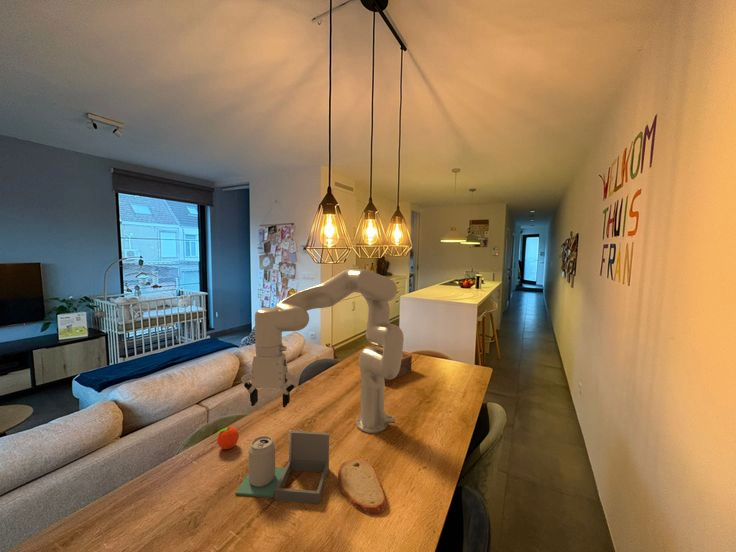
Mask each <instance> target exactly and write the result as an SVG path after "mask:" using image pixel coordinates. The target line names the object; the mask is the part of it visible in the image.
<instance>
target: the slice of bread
mask: <svg viewBox="0 0 736 552" xmlns="http://www.w3.org/2000/svg"><path fill="white" fill-rule="evenodd" d="M337 481H338V485H339V489H340V492H341V493H342V495H344V497H345V500H346V501H347V502H348V503H349V505H351V506H352V507H354V508H355V509H356V510H357V511H360V512H362V513H363V514H366V515H367V514H368V515H374V516H377V515H383V514H384V513H386V511H387V509H388V506H387V503H386V502H387V500H386V496H385V493H384V492H385V491H384V490H383V487H382V484H381V482H380V480H379V476H378V474H377V473H376V471H375V469H374V467H373V466H372V465H371V463H370V461H369V460H368V459H366V458H365V457H355V458H352V459H351V460H347V461H345V462H343V463H342V464H341V466H340V468H339V469H338V473H337Z"/></svg>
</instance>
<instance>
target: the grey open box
mask: <svg viewBox="0 0 736 552" xmlns="http://www.w3.org/2000/svg"><path fill="white" fill-rule="evenodd" d="M284 468H285V470H284V472H283V474H282V476H281V478H280V480H279V482H278V484H277V486H276V488H275V495H274V501H283V502H290V503H291V502H293V503H304V504H305V503H306V504H314V505H315V504H317V505H319V504H320V502H321V498H322V495H323V492H324V488H325V484H326V482H327V478H328V473H329V471H330V470H329V469H330V432H316V431H304V430H291V429H290V430H288V462H287V463H286V466H285V467H284ZM292 471H295V472H296V471H298V472H310V473H311V472H312V473H321V478H320V481H319V483H318V487H317V490H308V489H295V488H294V489H293V488H285V485H286V482H287V481H288V478H289V476H290V473H291V472H292Z"/></svg>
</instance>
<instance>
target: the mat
mask: <svg viewBox="0 0 736 552" xmlns="http://www.w3.org/2000/svg"><path fill="white" fill-rule="evenodd" d="M285 468H286V467H276V466H275V477H274V479H273V480H272V481H271V482H270V483H269V484H267V485H265V486H262V487H257V486H254V485H252V484H251V483H250V482H249V472H247V474H246V475H245V477H244V479H243V480H242V481H241V483H240V484H239V487H238V488H237V489H236V491H235V495H237V496H246V497H248V496H249V497H260V498H261V497H262V498H273V499H274V498H275V488H276V486H277V484H278V482H279V480H280V478H281V476H282V474H283V472H284V470H285Z"/></svg>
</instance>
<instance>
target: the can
mask: <svg viewBox="0 0 736 552" xmlns="http://www.w3.org/2000/svg"><path fill="white" fill-rule="evenodd" d="M275 467H276V443H275V441H274V438H272V436H270V435H262V436H261V435H260V436H258V437H255V438H254V439H253V440H252V441H251V442H250V445H249V446H248V473H249V482H250V483H251V484H252V485H254V486H257V487H262V486H265V485H267V484H269V483H270V482H271V481H272V480H273V479H274V477H275Z"/></svg>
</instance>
